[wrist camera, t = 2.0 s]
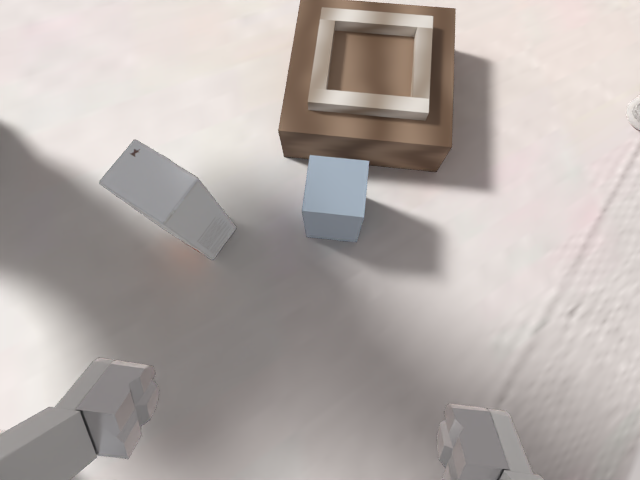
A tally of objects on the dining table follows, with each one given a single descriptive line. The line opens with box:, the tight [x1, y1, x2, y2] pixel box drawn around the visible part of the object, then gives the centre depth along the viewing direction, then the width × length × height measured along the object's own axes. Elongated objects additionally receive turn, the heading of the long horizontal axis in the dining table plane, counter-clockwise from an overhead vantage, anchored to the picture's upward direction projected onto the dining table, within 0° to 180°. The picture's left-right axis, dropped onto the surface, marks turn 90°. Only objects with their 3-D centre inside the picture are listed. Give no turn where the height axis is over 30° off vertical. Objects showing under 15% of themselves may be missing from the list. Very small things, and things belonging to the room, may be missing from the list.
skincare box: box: [99, 140, 236, 260], centre depth 32 cm, size 6×4×12 cm
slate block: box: [302, 155, 369, 242], centre depth 34 cm, size 5×5×8 cm
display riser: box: [278, 0, 455, 172], centre depth 38 cm, size 16×16×6 cm
